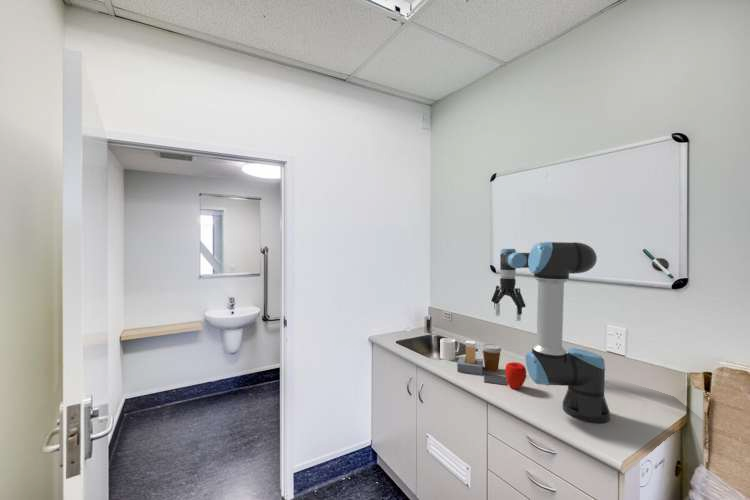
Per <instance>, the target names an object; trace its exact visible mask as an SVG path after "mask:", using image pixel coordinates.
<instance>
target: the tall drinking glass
mask: <svg viewBox="0 0 750 500" xmlns="http://www.w3.org/2000/svg"><path fill="white" fill-rule="evenodd" d="M476 343H477V342H476V341H475V340H466V341H465V357H466V363H472V364H475V358H476V348H477V347H476Z"/></svg>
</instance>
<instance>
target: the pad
mask: <svg viewBox="0 0 750 500" xmlns="http://www.w3.org/2000/svg"><path fill="white" fill-rule="evenodd" d="M483 383H485V384H493V385H501V386H506V387H507V386H508V382H507V379H506V375H499V374H498V375H496V374H490V373H484V377H483Z"/></svg>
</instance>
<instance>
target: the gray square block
mask: <svg viewBox="0 0 750 500" xmlns="http://www.w3.org/2000/svg"><path fill="white" fill-rule="evenodd" d="M458 358H459V359H458V361H457V362H456V363H457V364H456V366H457V368H456V370H457V372H458V373H465V374H472V375H477V376H478V375H480V376H482V375H483V372H484V371H483V370H484V358H476V357H475V364H472V363H466V356H459V357H458Z"/></svg>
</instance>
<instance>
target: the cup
mask: <svg viewBox="0 0 750 500" xmlns="http://www.w3.org/2000/svg"><path fill="white" fill-rule="evenodd" d="M456 341H457V350H456ZM439 343H440V344H439V345H440V348H439V349H440V350H439V351H440V353H439V355H440V356H439V357H440V359H441V360H445V361H454V360H456V353H459V350H460V346H461V345H460V340H459V339H458V338H450V337H447V338H446V337H445V338H444V337H443V338H440V341H439Z"/></svg>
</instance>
